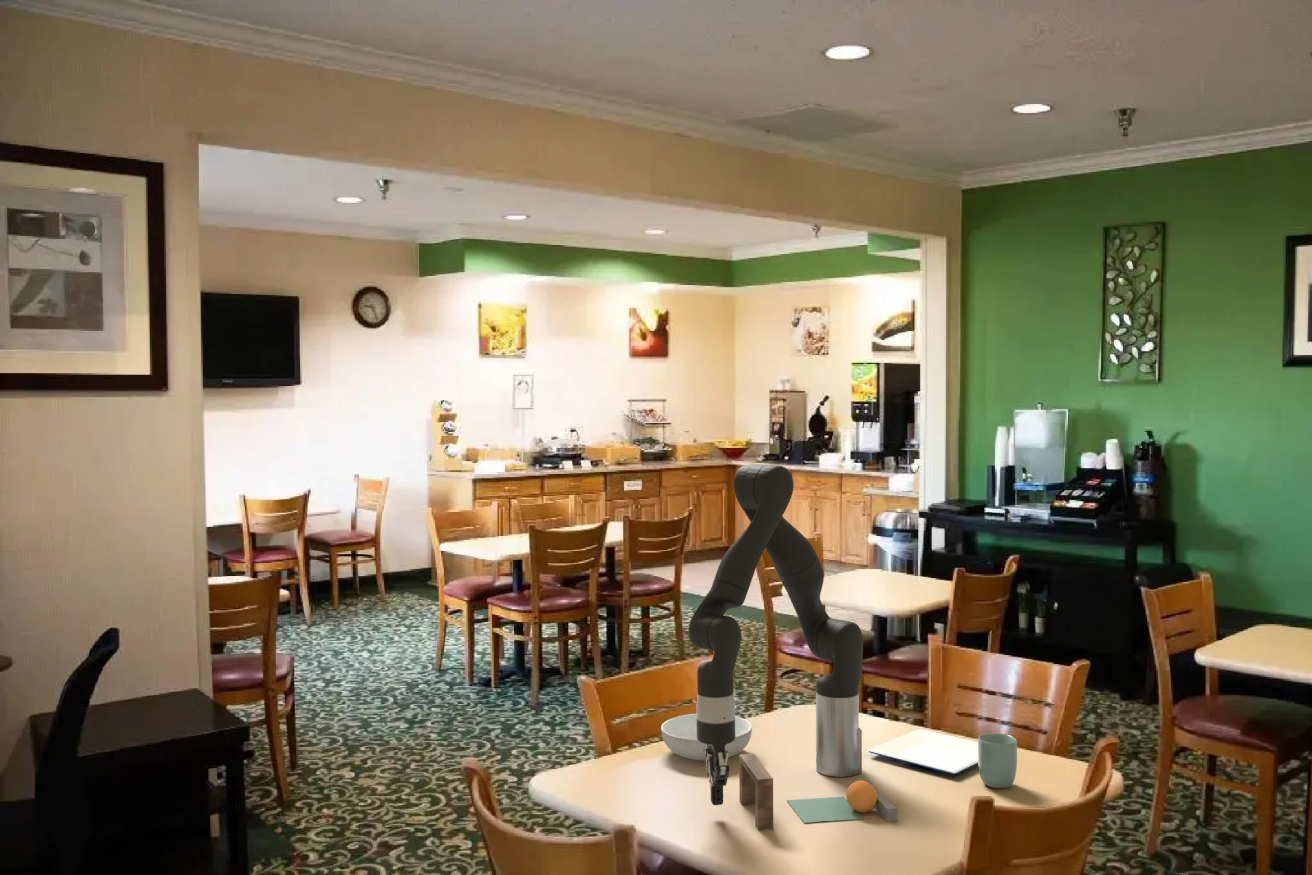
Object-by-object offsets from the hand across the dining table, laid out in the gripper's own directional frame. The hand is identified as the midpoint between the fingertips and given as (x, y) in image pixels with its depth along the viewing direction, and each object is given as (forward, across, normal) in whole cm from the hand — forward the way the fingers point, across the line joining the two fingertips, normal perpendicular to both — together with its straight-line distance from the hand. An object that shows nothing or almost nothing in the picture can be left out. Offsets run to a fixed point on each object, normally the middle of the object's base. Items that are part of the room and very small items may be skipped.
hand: (716, 803), depth 217 cm
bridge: (+3, 0, -8) cm, 8 cm away
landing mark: (+3, 0, -22) cm, 22 cm away
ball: (0, -2, -29) cm, 29 cm away
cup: (+4, +7, -62) cm, 62 cm away
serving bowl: (+3, +38, -6) cm, 38 cm away
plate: (+4, +27, -57) cm, 63 cm away
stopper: (+3, 0, -33) cm, 33 cm away
